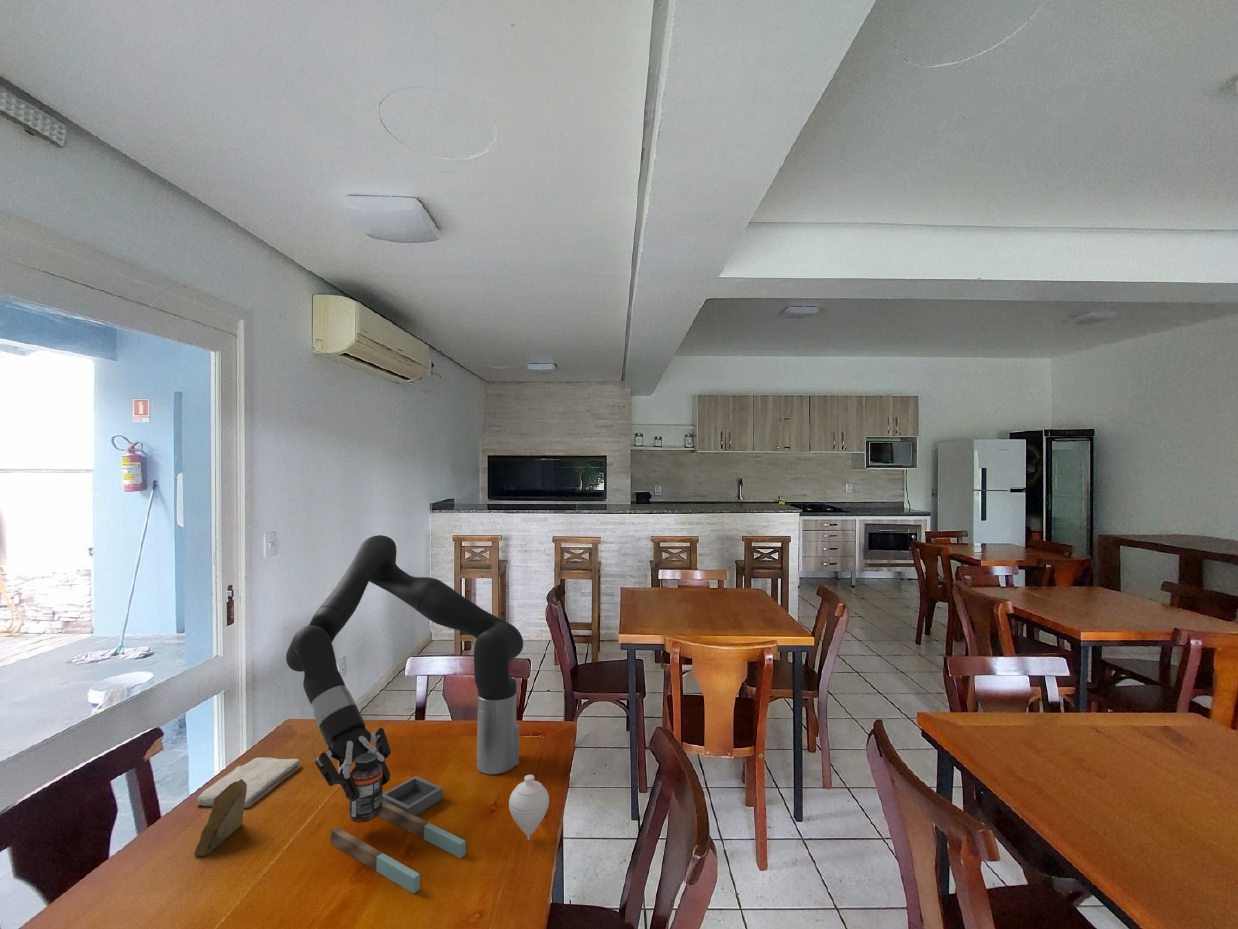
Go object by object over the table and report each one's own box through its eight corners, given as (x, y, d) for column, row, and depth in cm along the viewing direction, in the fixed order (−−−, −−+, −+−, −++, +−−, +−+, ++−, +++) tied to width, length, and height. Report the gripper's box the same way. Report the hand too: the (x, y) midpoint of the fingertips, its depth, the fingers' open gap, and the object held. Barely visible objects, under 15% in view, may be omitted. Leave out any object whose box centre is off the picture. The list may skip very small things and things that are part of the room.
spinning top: (555, 832, 109) (556, 770, 109) (537, 857, 102) (537, 791, 102) (520, 824, 111) (521, 763, 112) (500, 848, 104) (501, 783, 104)
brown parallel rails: (330, 843, 105) (330, 830, 105) (383, 813, 115) (383, 800, 115) (376, 871, 98) (376, 857, 98) (429, 836, 107) (429, 823, 107)
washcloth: (303, 767, 133) (303, 754, 133) (248, 812, 115) (249, 797, 116) (256, 765, 134) (256, 752, 134) (194, 809, 116) (195, 794, 116)
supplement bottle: (355, 806, 111) (357, 749, 112) (386, 805, 112) (387, 748, 112) (343, 825, 105) (345, 765, 106) (375, 824, 106) (377, 764, 106)
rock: (208, 852, 99) (264, 815, 108) (186, 809, 100) (243, 775, 109) (185, 871, 103) (241, 833, 112) (165, 829, 105) (222, 795, 114)
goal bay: (376, 871, 98) (376, 857, 98) (428, 836, 107) (429, 823, 107) (413, 894, 92) (413, 878, 92) (465, 854, 102) (465, 841, 102)
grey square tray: (379, 807, 117) (379, 795, 117) (415, 787, 124) (415, 776, 124) (407, 821, 112) (407, 808, 112) (442, 799, 120) (442, 787, 120)
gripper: (361, 712, 122) (394, 783, 115) (294, 738, 110) (327, 819, 103) (376, 693, 119) (411, 764, 113) (310, 717, 107) (344, 799, 100)
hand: (371, 790), depth 108 cm, fingers closed on supplement bottle, 6 cm apart
